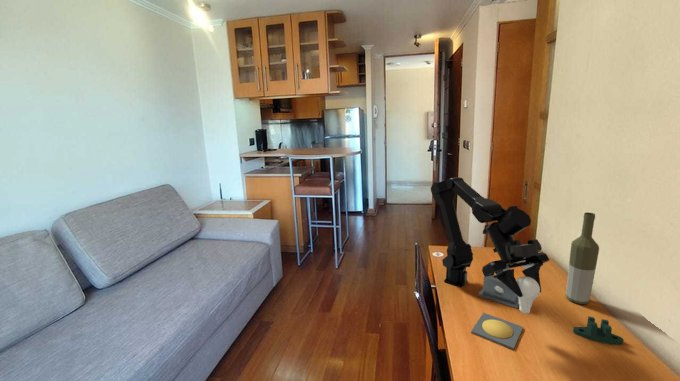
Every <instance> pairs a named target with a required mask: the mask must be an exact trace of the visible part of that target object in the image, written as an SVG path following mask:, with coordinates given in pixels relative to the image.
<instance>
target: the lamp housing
mask: <svg viewBox="0 0 680 381" xmlns="http://www.w3.org/2000/svg"><path fill="white" fill-rule="evenodd" d="M495 275H496V274H494V275H492V276H487V277H483V284H482V288H481V290H480V291H479V293H478V297H480V298H483V299H486V300H490V301H492V302H495V303H499V304H502V305H505V306H508V307H510V308H514V309H518V308H519V306H520V304H519V298H518V296H517V295H516V294H515V293H514V292H513V291H512V290H511V289H510V288H509V287H507V286H506V285H505V284H504V283H502V282H501V281H500V280H499V279H497V278H494V277H493V276H495Z"/></svg>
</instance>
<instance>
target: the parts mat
mask: <svg viewBox="0 0 680 381" xmlns="http://www.w3.org/2000/svg"><path fill="white" fill-rule="evenodd" d="M523 330H524V326H522V325H519V324H516V323H513V322H511V321H509V320H506V319H504V318H503V319H502V318H499V317H497V316H494V315H490V314H488V313H486V312H482V314H481V316H480V318H479V319H478V320H477V322H476V323H475V324H474V326H473V328H472V329H471V331H470V333H471V334H473V335H476V336H478V337H480V338H482V339H485V340H488V341H490V342H493V343H495V344H498V345H500V346H503V347H504V348H505V347H506V348H508V349H510V350H513V351H514V350H515V348H516V346H517V342H518V341H519V338H520V336H521V335H522V332H523Z"/></svg>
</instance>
